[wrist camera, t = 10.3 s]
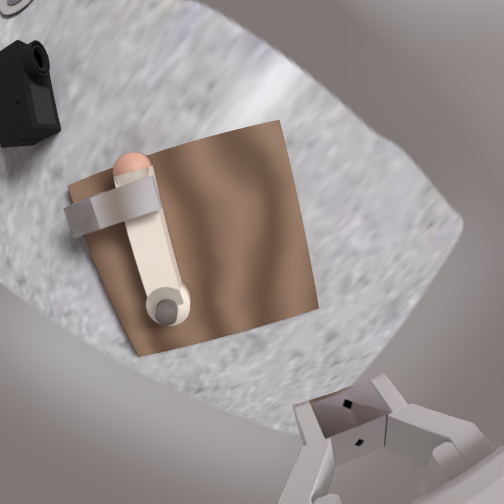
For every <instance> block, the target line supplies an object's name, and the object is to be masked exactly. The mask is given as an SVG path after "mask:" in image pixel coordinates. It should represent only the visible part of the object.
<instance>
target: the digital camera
mask: <svg viewBox="0 0 504 504" xmlns="http://www.w3.org/2000/svg"><path fill="white" fill-rule="evenodd" d="M49 70H50V64H49V58H48V55H47V52H46V50H45V48H44V47H43V45H42V44H41V43H40V42H39V41H36V40H34V41H32V42H31V43H29V44H26V43H24V42H22V41H19V40H16V41H15V42H13V43H12V44H10V45H9V46H7V47H6V48H4V49H3V50H1V51H0V145H1V148H5V147H16V146H30V145H34V144H36V143H38V142H40V141H42V140H43V139H45V138H47V137H49V136H51V135H53V134H55V133H57V132H59V131H61V126H60V122H59V118H58V113H57V109H56V104H55V100H54V95H53V90H52V84H51V79H50V73H49ZM43 130H44V131H43ZM44 134H45V135H44ZM41 136H42V137H41Z"/></svg>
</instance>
